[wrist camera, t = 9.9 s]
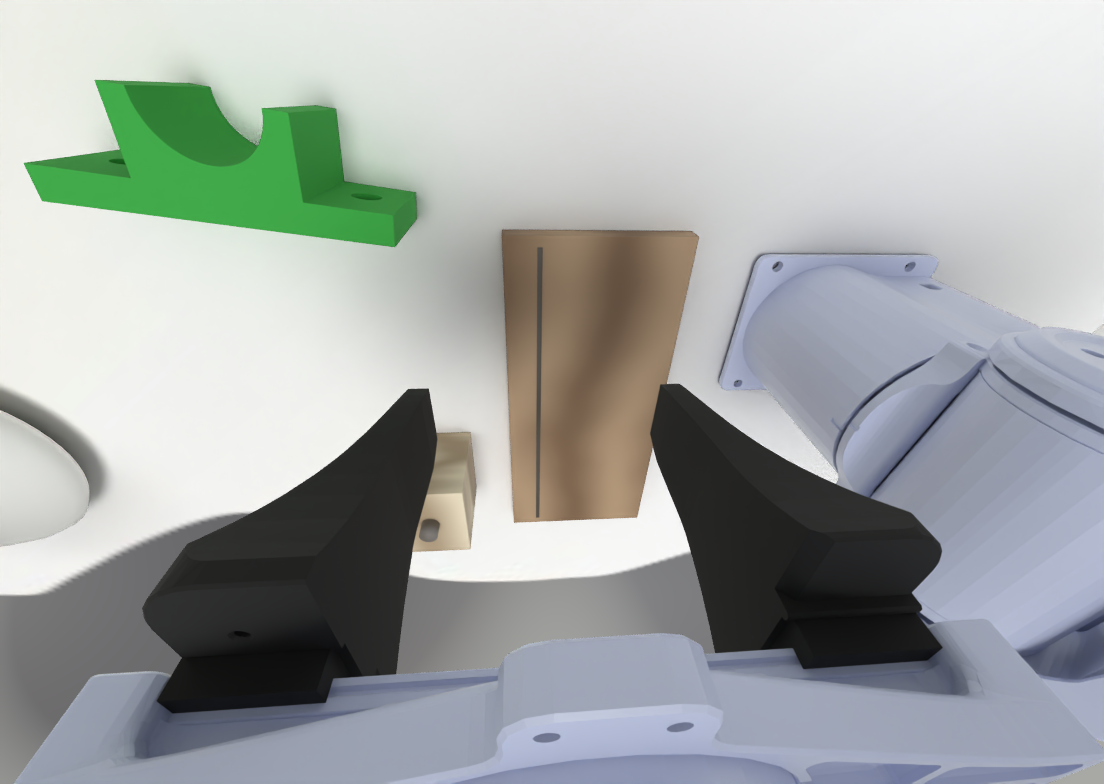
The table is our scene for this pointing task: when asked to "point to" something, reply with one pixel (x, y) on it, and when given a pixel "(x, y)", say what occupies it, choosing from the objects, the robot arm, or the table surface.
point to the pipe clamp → (224, 169)
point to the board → (588, 363)
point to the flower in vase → (36, 484)
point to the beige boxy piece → (449, 497)
